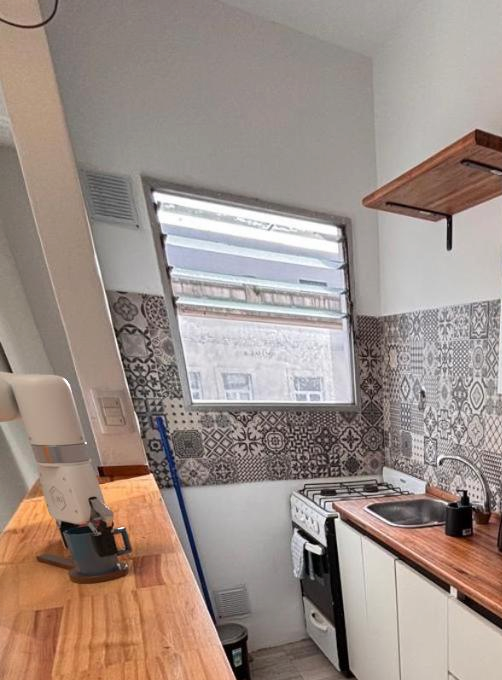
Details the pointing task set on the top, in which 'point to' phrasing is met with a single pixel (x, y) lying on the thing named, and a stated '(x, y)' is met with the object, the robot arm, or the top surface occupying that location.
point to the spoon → (80, 578)
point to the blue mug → (92, 551)
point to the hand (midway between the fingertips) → (91, 550)
